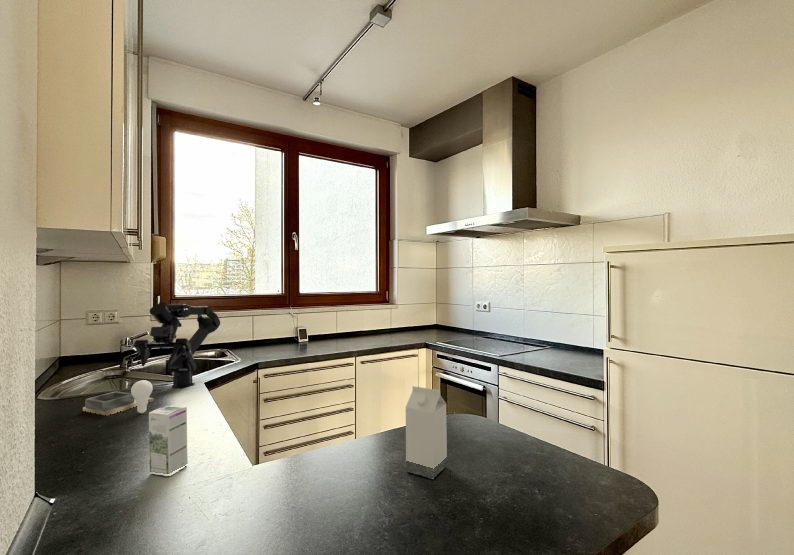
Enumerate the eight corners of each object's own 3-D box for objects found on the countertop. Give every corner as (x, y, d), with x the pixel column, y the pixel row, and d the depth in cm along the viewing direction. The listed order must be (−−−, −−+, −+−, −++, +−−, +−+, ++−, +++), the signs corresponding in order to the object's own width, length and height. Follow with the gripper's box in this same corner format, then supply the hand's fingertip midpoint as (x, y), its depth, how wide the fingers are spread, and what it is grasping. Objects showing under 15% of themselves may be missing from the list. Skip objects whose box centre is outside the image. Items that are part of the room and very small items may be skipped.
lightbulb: (132, 411, 132) (132, 379, 132) (154, 409, 134) (153, 377, 134) (129, 417, 126) (129, 383, 126) (151, 414, 129) (151, 381, 129)
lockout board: (130, 397, 148) (130, 386, 148) (153, 401, 143) (153, 390, 143) (82, 410, 133) (82, 398, 133) (106, 415, 128) (106, 403, 128)
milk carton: (420, 460, 95) (419, 382, 95) (447, 467, 91) (446, 386, 91) (405, 473, 89) (405, 390, 89) (434, 481, 85) (433, 394, 85)
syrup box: (188, 466, 93) (188, 405, 93) (168, 478, 87) (167, 414, 87) (169, 463, 94) (169, 403, 94) (148, 475, 89) (147, 411, 89)
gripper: (134, 318, 146) (119, 354, 136) (187, 317, 149) (176, 352, 139) (146, 335, 155) (132, 370, 144) (195, 333, 157) (185, 368, 147)
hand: (156, 365), depth 143 cm, fingers open, 9 cm apart
